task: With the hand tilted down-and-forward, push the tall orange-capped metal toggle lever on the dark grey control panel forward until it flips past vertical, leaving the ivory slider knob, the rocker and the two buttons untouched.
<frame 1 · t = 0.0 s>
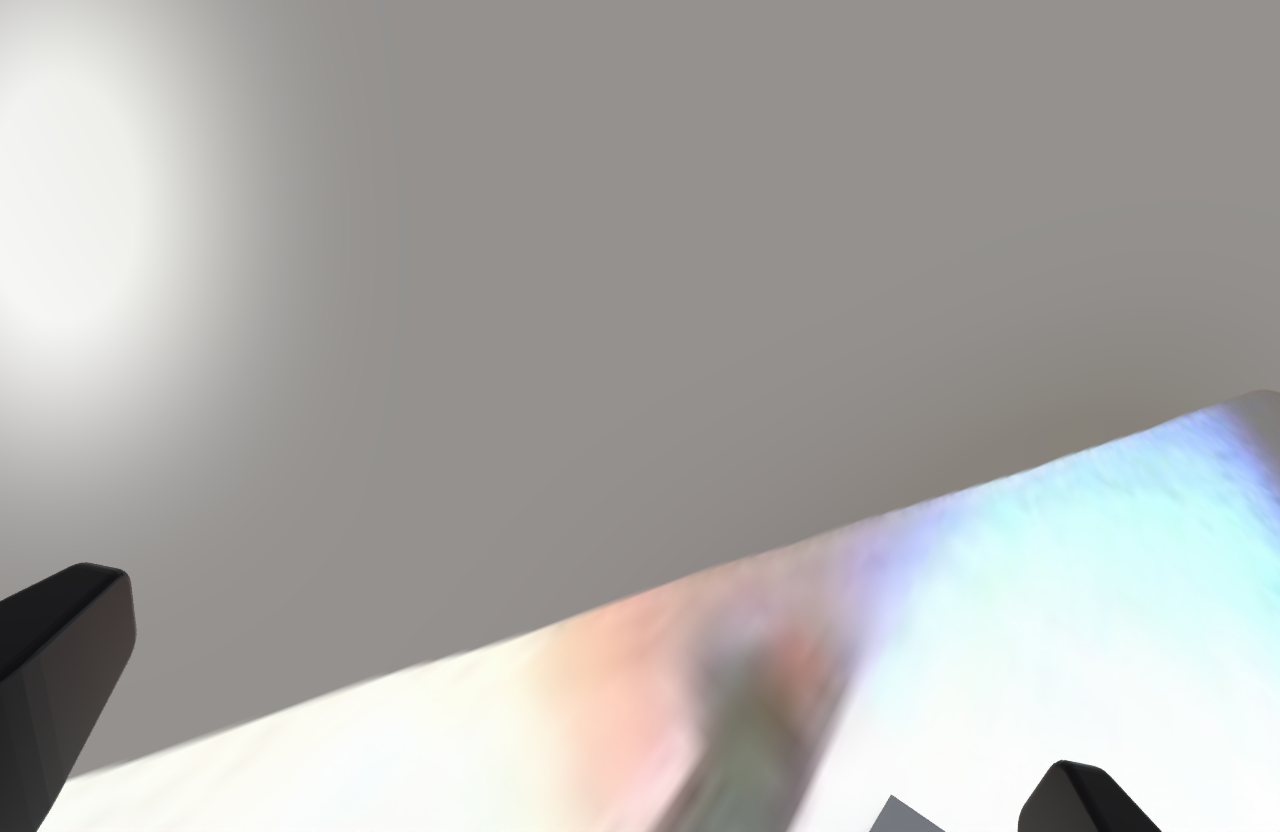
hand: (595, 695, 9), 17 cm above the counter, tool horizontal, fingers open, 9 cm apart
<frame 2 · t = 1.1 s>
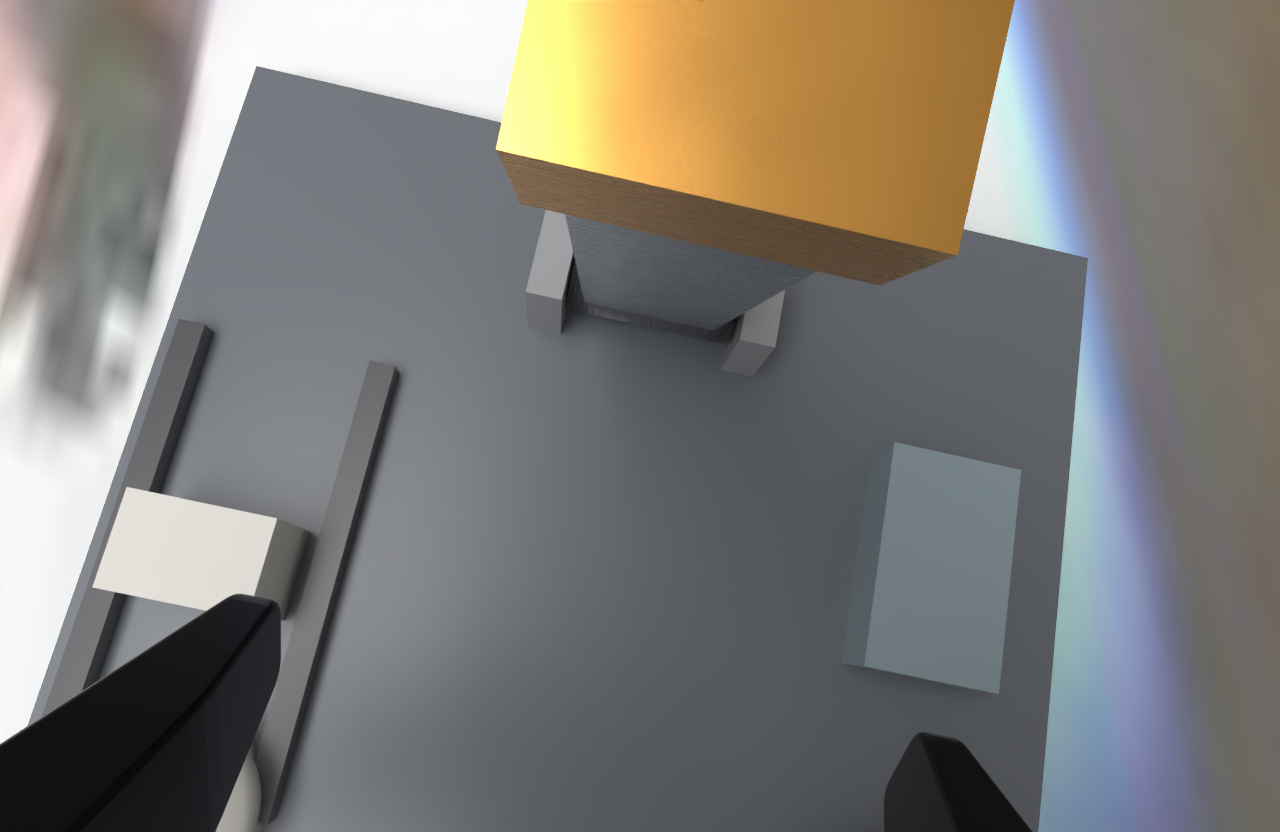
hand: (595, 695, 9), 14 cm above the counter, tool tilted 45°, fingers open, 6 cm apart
slider B: (209, 557, 19), point 3 cm above the counter, slide at 0.0 cm
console: (579, 632, 22), on the counter
lever A: (676, 241, 15), point 9 cm above the counter, hinge at -15.0°
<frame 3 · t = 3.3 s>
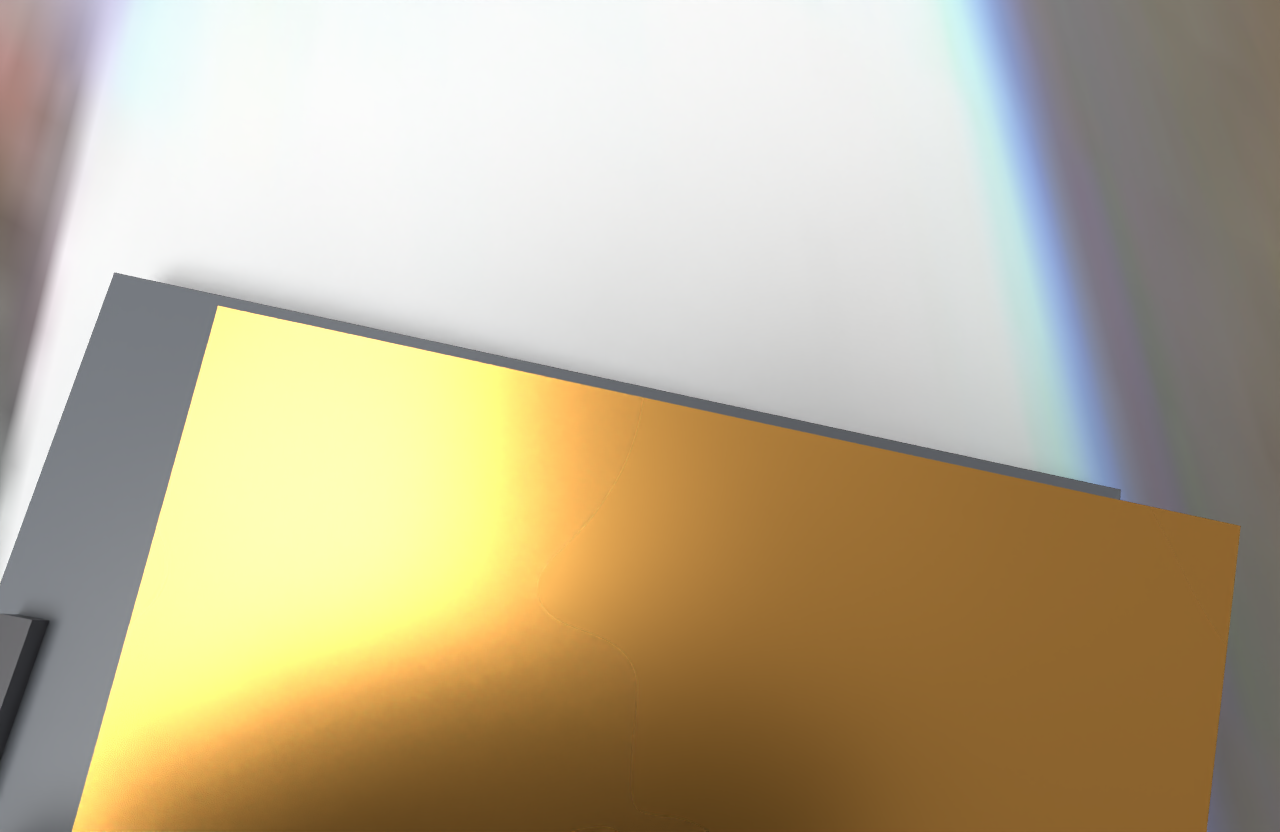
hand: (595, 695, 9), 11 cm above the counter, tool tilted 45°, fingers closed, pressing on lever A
lever A: (604, 584, 11), point 10 cm above the counter, hinge at -6.3°, touching gripper
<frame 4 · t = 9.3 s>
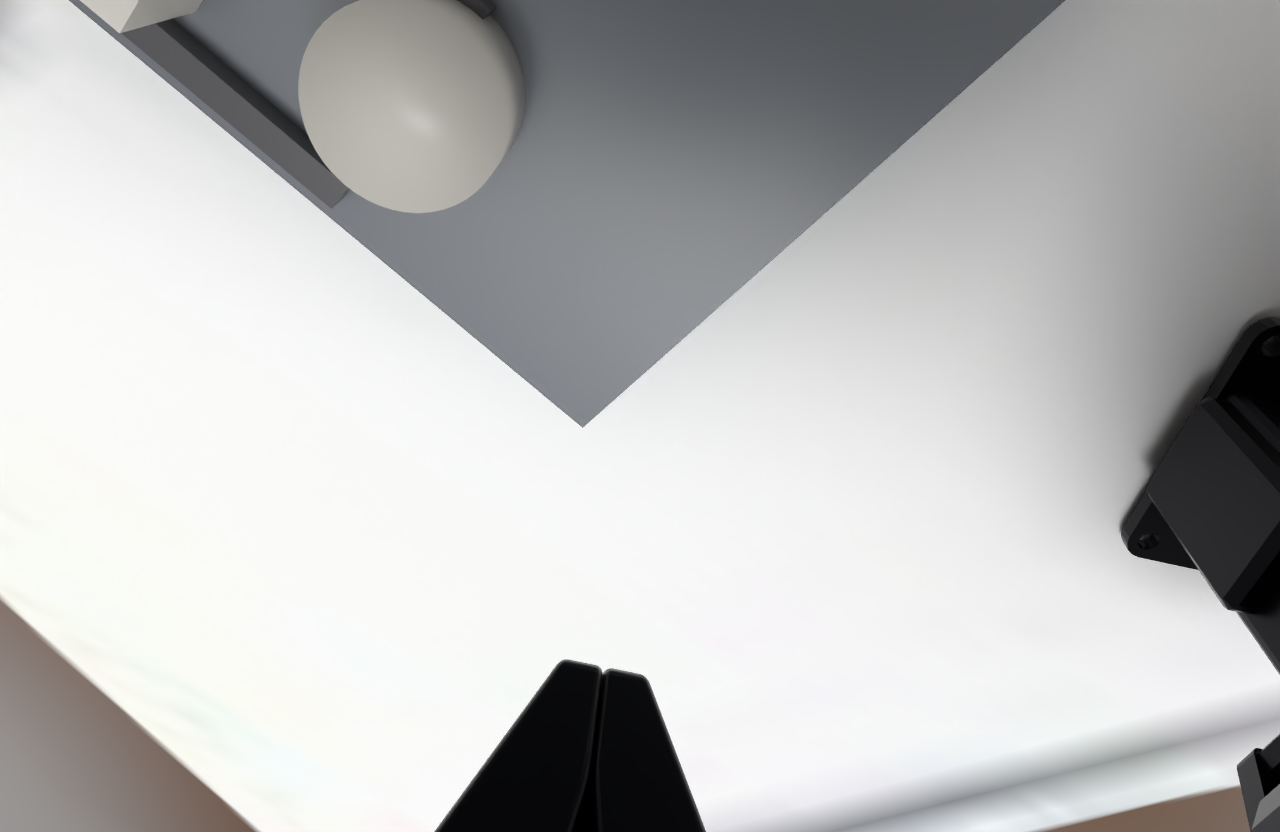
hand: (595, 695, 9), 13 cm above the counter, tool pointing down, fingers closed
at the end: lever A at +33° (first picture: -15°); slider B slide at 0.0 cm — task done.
